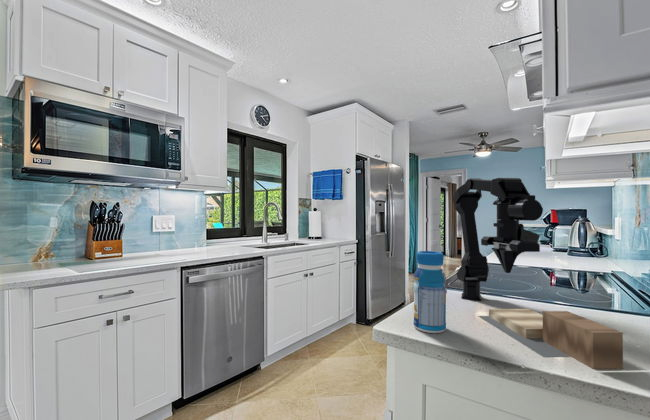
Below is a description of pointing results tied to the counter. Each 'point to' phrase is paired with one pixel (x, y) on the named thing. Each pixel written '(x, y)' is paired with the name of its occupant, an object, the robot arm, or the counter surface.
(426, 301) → the beverage bottle
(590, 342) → the walnut block
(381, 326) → the counter surface
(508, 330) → the rubber mat
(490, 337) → the counter surface
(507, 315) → the birch board
